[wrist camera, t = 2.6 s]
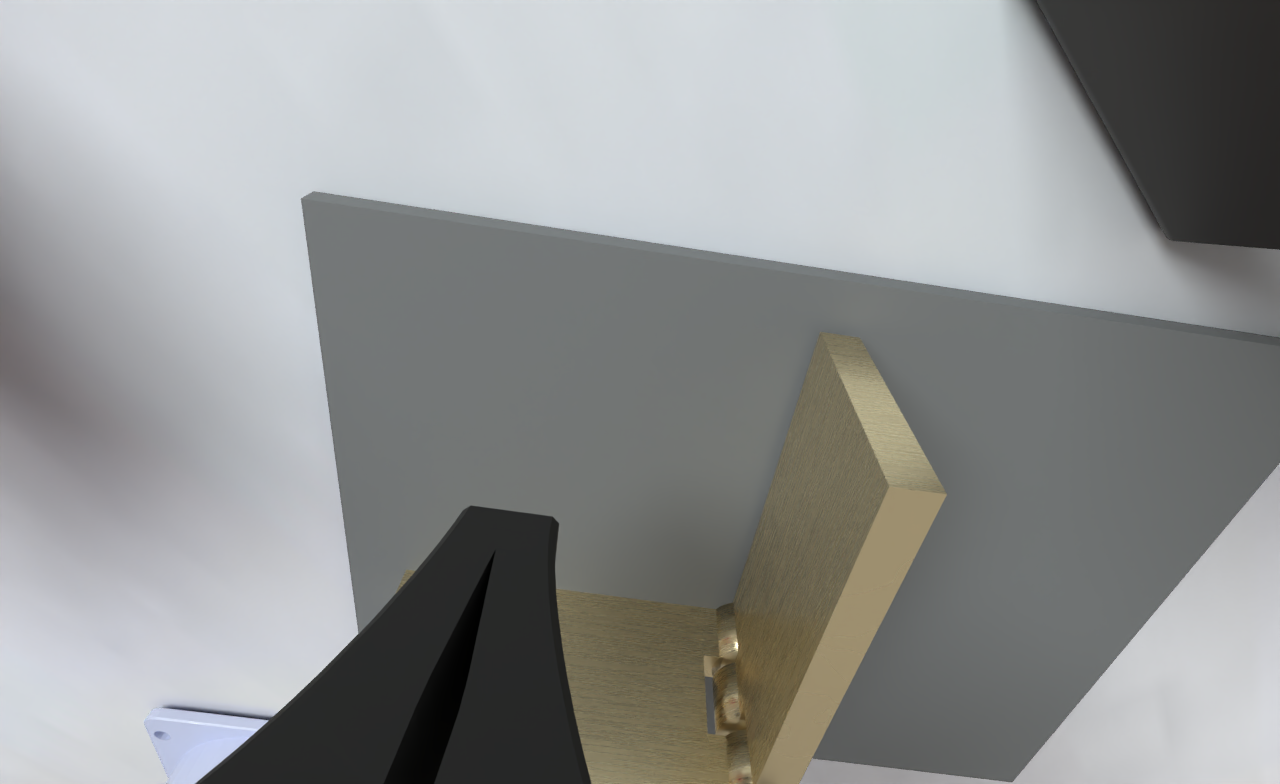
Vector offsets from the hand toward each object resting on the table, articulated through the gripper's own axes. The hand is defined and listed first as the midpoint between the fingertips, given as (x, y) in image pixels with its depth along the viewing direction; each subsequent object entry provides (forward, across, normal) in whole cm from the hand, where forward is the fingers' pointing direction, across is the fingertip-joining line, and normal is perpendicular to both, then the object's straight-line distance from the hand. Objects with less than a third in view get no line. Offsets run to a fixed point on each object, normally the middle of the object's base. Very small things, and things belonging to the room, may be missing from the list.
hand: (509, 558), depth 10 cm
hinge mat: (+5, -6, +5) cm, 9 cm away
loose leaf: (+5, -5, +2) cm, 8 cm away
